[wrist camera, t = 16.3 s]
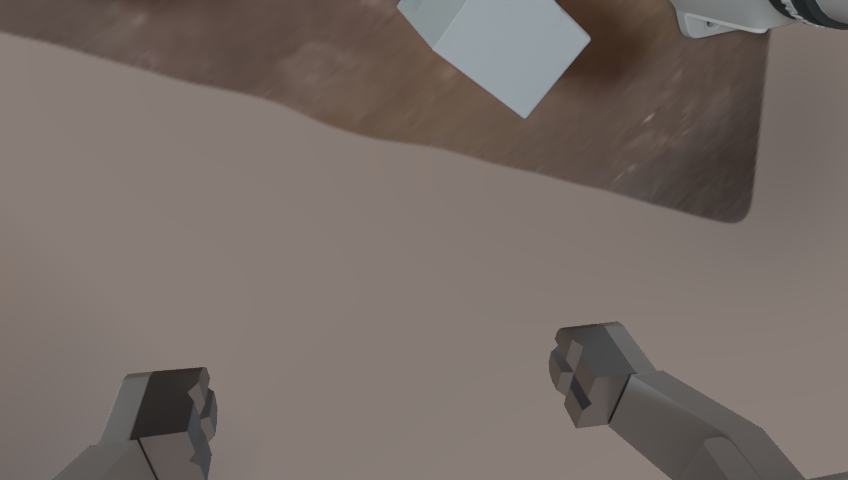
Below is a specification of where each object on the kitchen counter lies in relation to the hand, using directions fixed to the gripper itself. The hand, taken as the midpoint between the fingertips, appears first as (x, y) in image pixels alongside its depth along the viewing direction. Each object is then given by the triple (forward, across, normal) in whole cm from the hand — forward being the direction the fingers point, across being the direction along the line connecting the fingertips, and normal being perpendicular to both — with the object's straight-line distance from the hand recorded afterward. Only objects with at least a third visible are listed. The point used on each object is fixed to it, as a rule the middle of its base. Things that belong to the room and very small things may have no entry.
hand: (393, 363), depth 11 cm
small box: (+34, +10, +2) cm, 36 cm away
